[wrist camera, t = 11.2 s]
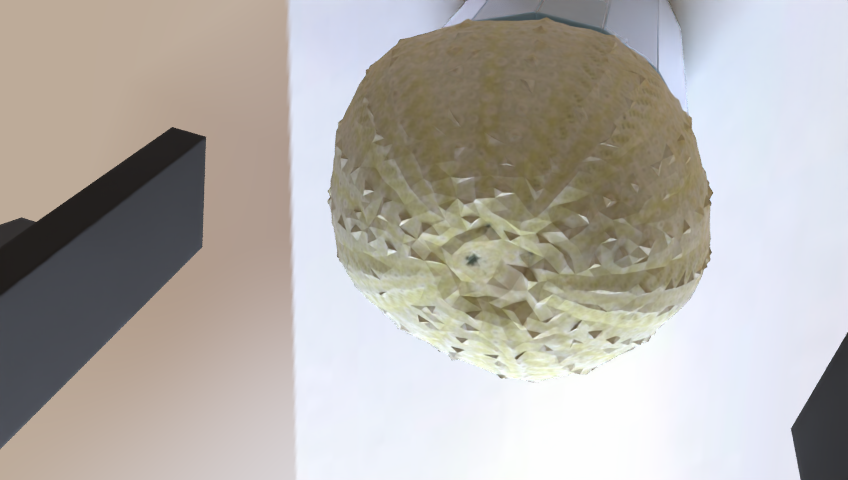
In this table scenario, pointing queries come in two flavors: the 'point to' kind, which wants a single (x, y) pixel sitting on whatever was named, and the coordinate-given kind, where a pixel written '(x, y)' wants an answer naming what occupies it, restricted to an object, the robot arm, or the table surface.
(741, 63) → the table surface
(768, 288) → the table surface
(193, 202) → the robot arm
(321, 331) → the table surface
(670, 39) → the tumbler
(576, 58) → the sea urchin shell
